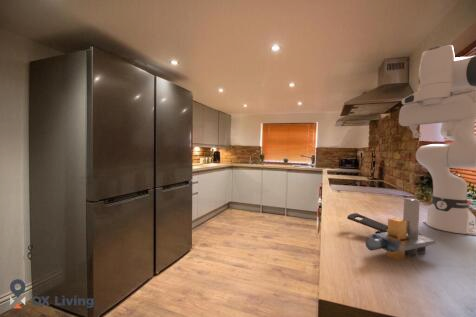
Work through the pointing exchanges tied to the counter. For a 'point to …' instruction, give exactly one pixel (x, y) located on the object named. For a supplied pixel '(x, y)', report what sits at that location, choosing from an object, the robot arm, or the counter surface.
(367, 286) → the counter surface
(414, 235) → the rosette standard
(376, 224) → the zipper pull
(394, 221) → the orange wooden block
